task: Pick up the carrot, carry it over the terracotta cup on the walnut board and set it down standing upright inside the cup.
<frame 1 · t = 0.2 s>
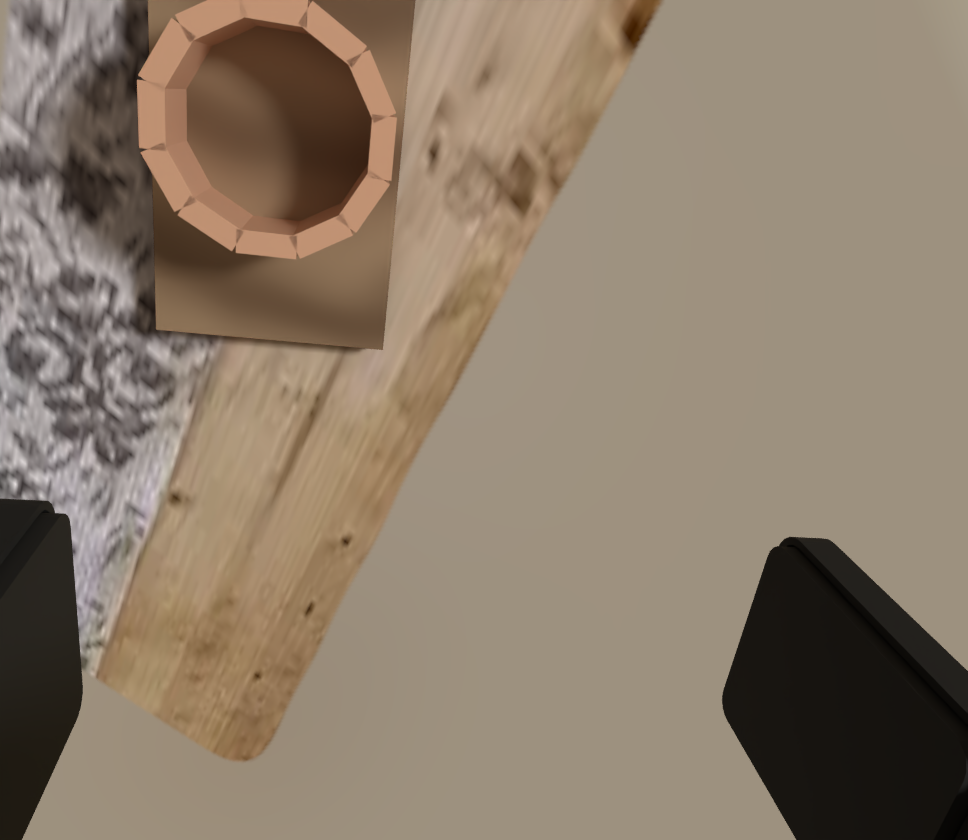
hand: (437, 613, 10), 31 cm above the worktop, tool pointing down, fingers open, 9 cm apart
terracotta cup: (279, 128, 34), resting on walnut board
walnut board: (283, 126, 35), on the worktop
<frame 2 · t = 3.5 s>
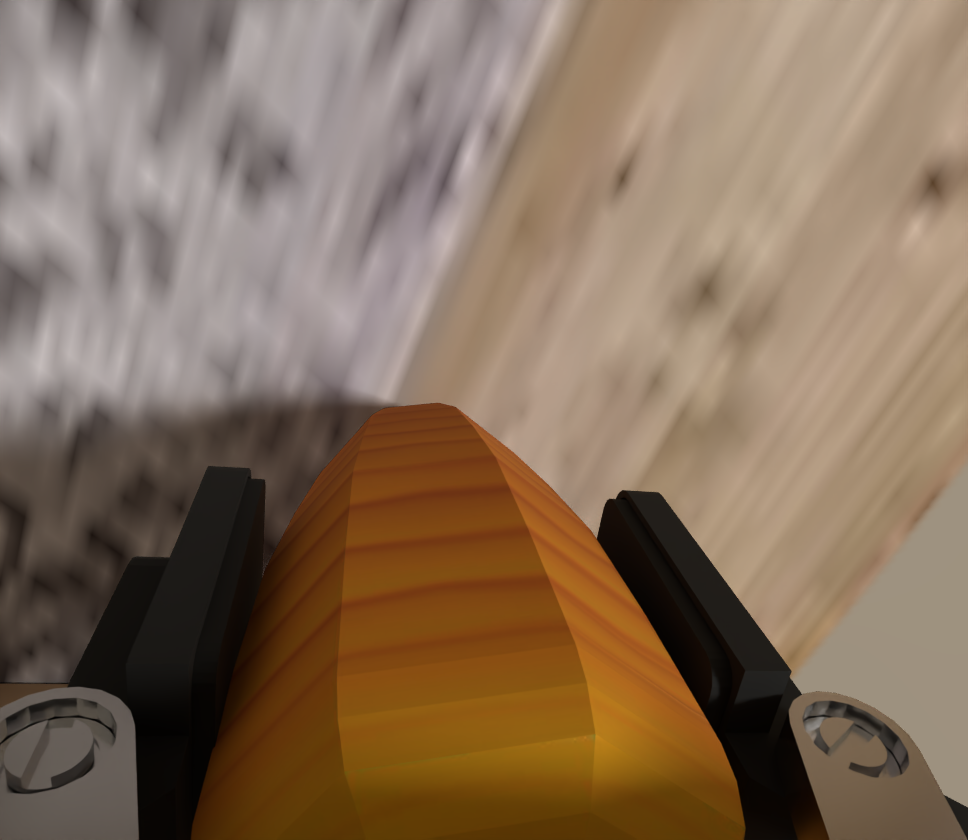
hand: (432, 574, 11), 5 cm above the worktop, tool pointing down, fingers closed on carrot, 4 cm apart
carrot: (410, 421, 16), on the worktop, touching gripper
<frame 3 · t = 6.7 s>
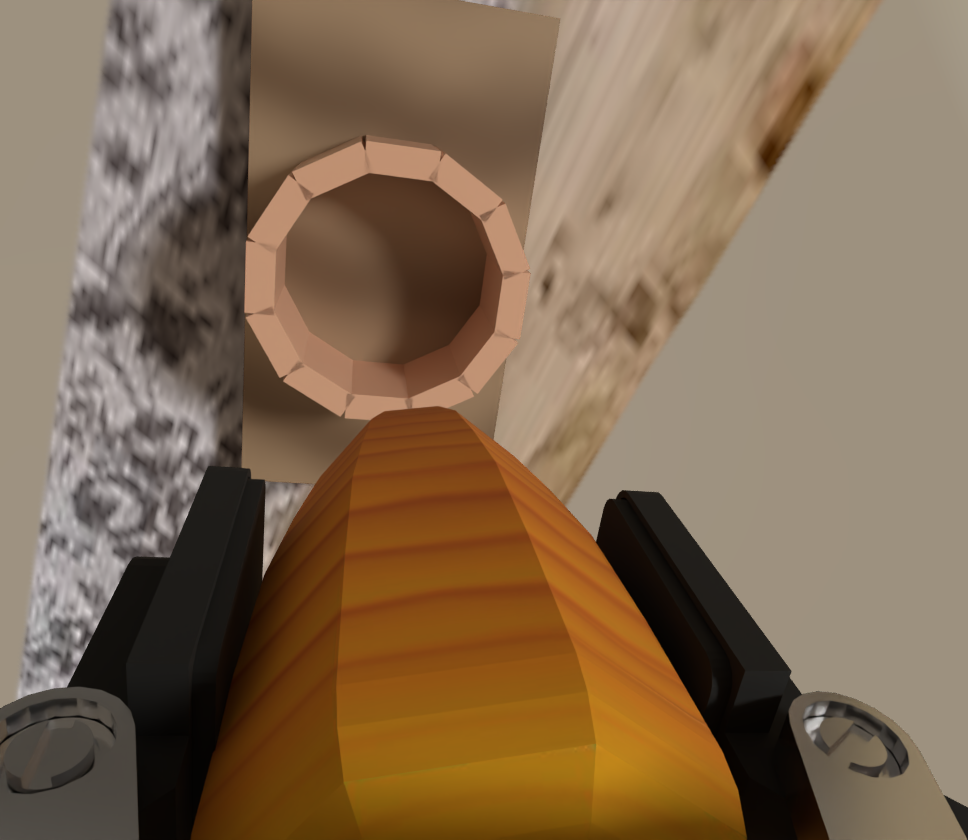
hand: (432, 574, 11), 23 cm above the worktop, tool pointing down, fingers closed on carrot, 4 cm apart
terracotta cup: (386, 269, 31), resting on walnut board
walnut board: (385, 261, 32), on the worktop
carrot: (410, 423, 16), point 18 cm above the worktop, touching gripper
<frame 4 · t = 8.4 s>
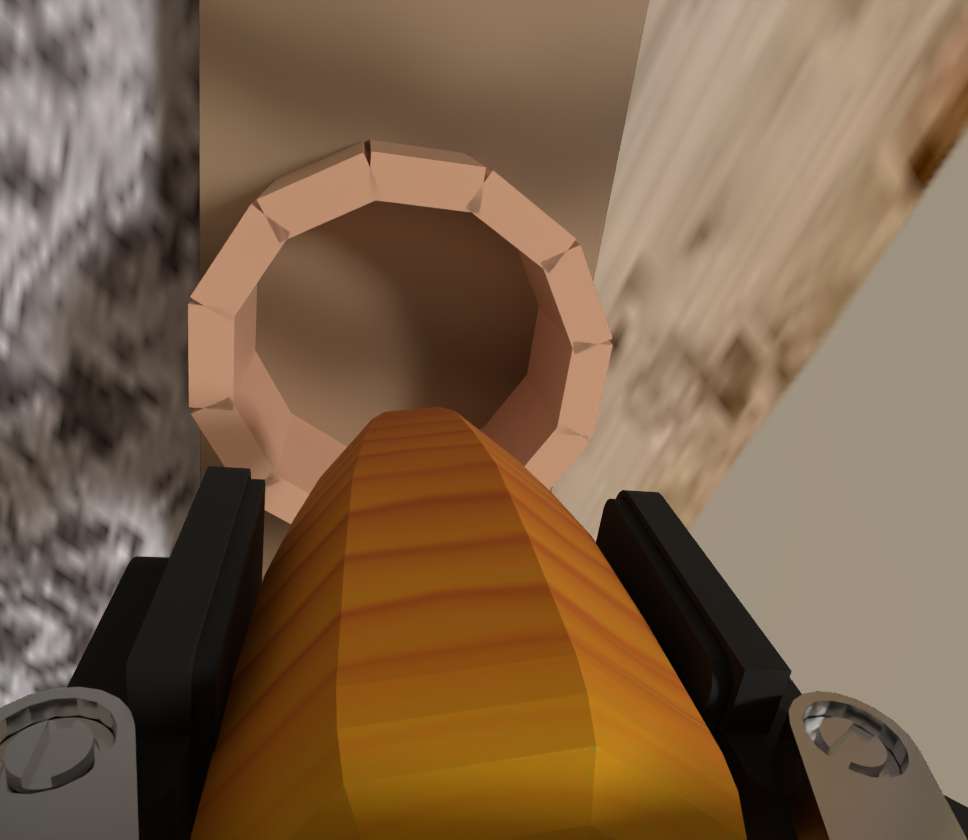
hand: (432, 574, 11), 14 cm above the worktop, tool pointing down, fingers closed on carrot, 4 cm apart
terracotta cup: (399, 327, 22), resting on walnut board
walnut board: (397, 313, 23), on the worktop
carrot: (410, 424, 16), point 8 cm above the worktop, touching gripper
when the fingers open (8 cm above the worktop, at t = 9.8 s): carrot drops 1 cm, resting on walnut board.
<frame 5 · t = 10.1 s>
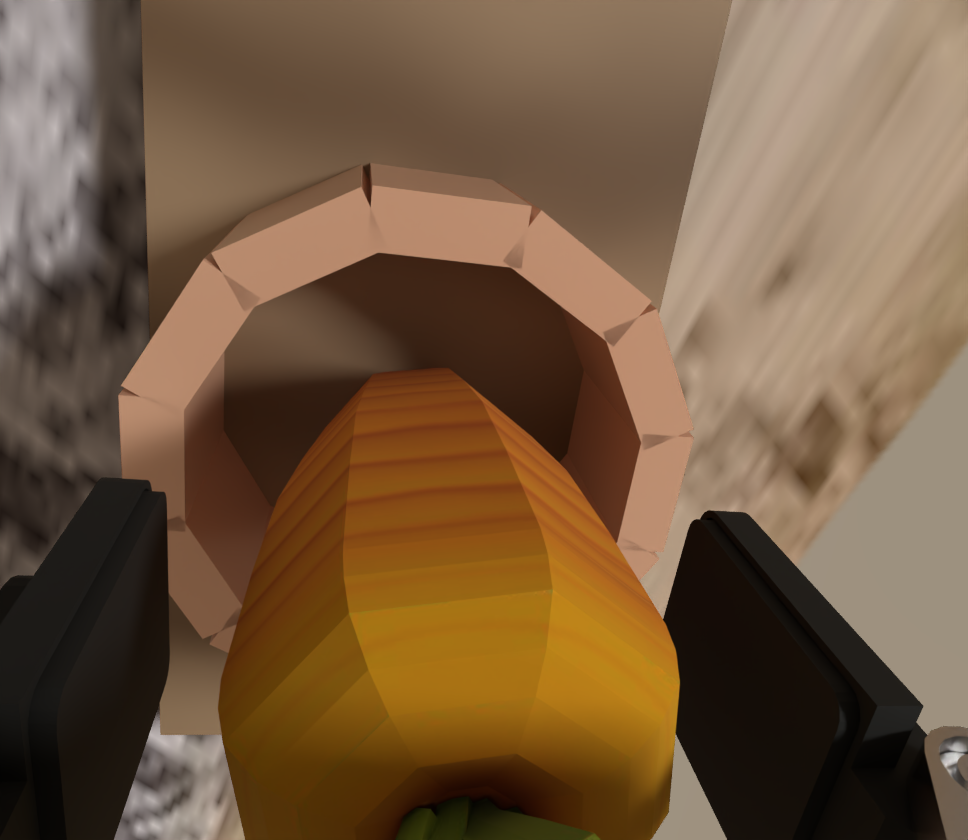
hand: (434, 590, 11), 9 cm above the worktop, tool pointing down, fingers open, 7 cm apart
terracotta cup: (407, 399, 17), resting on walnut board
walnut board: (404, 377, 19), on the worktop
carrot: (408, 389, 17), point 1 cm above the worktop, touching walnut board
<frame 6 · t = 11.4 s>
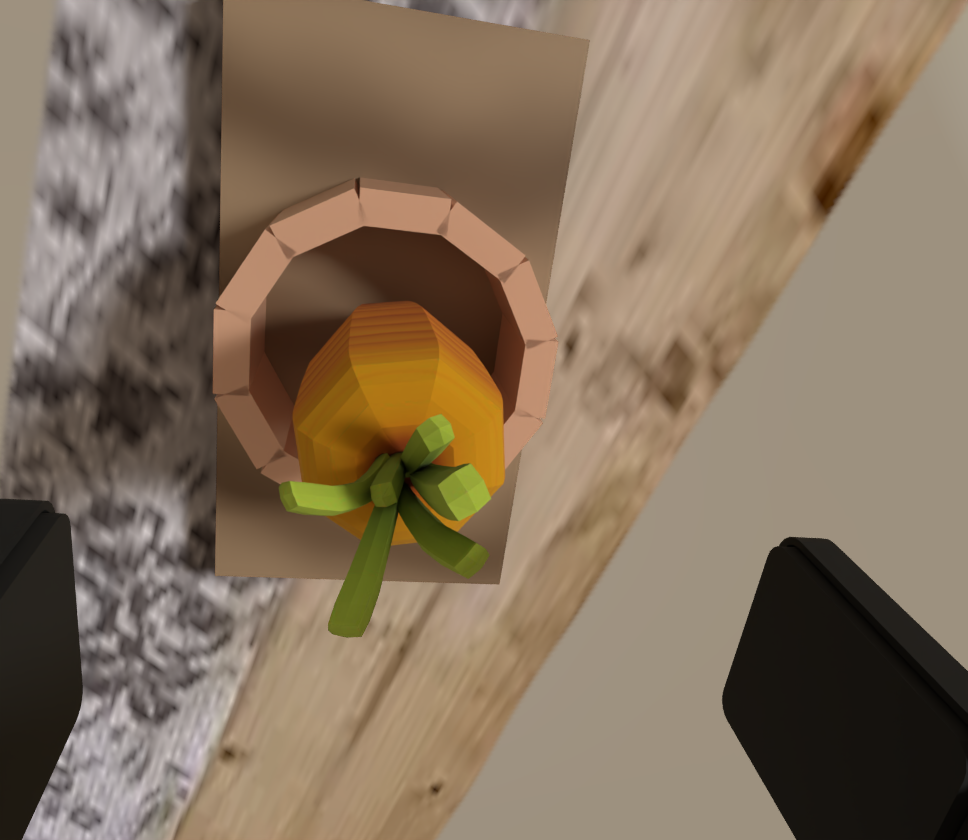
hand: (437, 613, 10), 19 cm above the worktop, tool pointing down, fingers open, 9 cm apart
terracotta cup: (385, 332, 26), resting on walnut board
walnut board: (383, 322, 27), on the worktop
carrot: (386, 326, 26), point 1 cm above the worktop, touching walnut board
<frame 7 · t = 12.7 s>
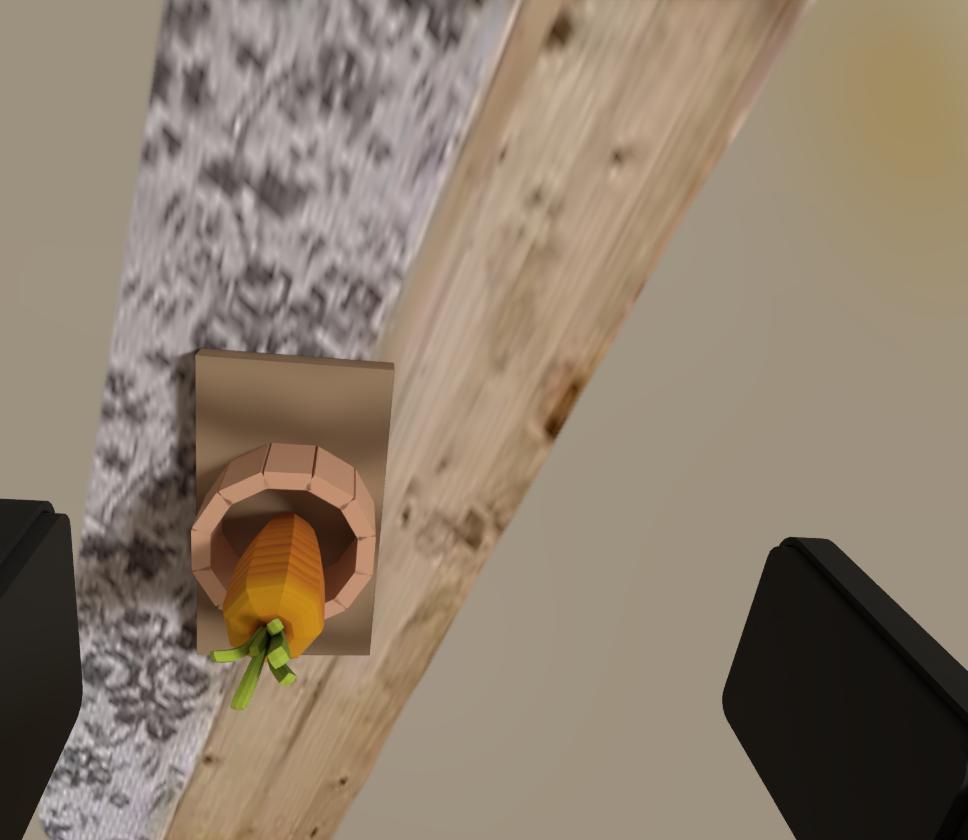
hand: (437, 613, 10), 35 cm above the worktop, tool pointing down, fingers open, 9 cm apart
terracotta cup: (290, 519, 46), resting on walnut board
walnut board: (292, 508, 48), on the worktop
carrot: (291, 515, 46), point 1 cm above the worktop, touching walnut board
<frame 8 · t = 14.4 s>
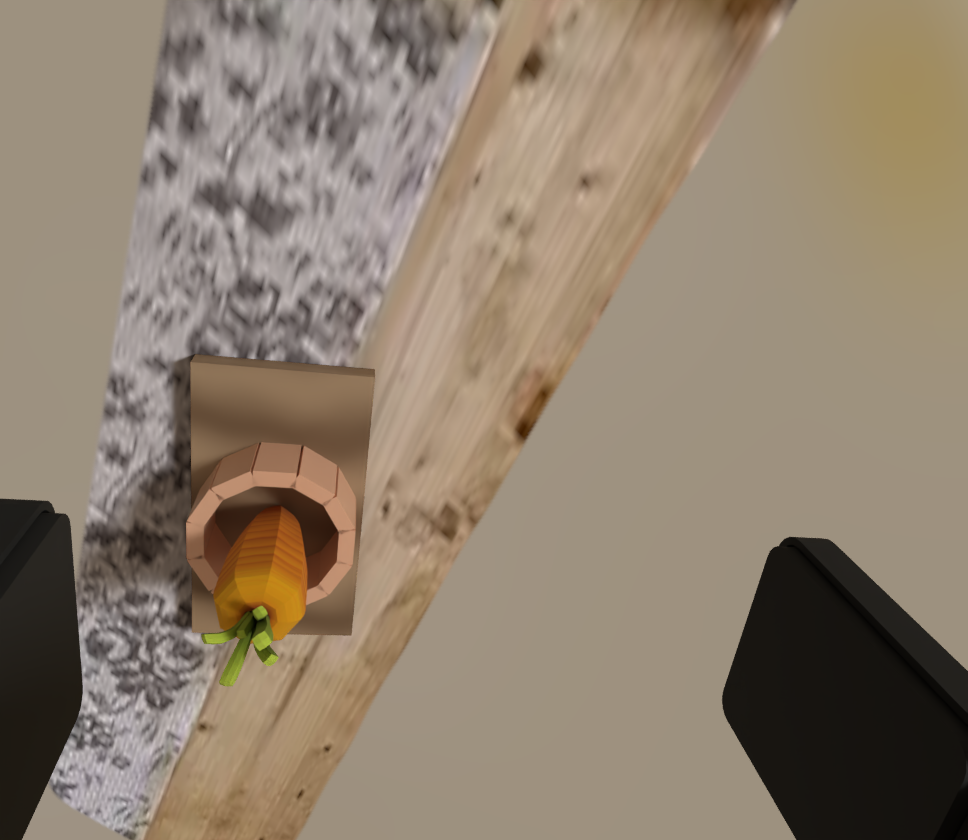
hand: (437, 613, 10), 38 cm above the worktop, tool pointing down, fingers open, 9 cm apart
terracotta cup: (278, 511, 50), resting on walnut board
walnut board: (280, 500, 51), on the worktop
carrot: (279, 508, 50), point 1 cm above the worktop, touching walnut board
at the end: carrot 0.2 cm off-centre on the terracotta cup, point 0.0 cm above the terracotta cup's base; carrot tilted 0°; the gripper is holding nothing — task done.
